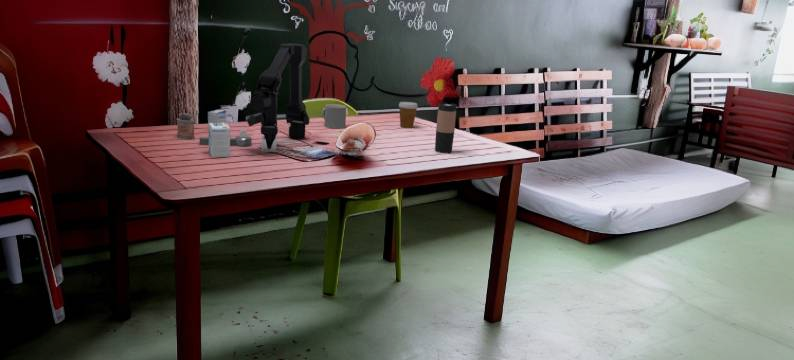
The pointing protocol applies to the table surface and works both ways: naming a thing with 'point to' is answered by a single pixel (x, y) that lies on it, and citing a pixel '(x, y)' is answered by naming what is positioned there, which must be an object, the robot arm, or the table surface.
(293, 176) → the table surface
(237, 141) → the ratchet
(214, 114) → the medicine box
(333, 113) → the coffee mug
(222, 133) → the light bulb box
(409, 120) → the disposable coffee cup
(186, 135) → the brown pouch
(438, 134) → the travel mug
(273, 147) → the socket
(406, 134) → the table surface
